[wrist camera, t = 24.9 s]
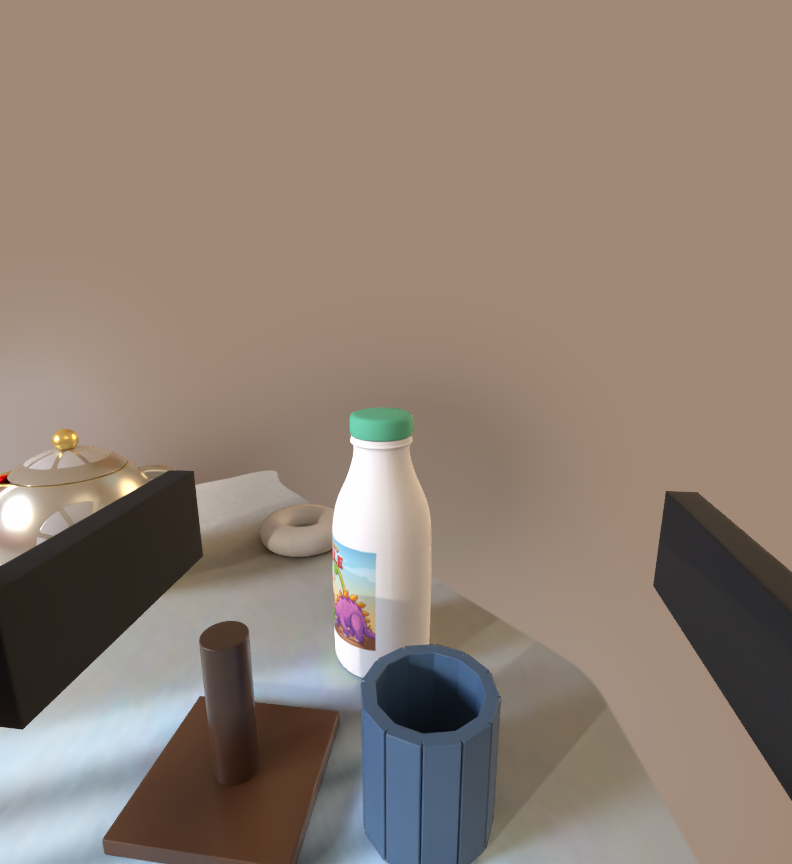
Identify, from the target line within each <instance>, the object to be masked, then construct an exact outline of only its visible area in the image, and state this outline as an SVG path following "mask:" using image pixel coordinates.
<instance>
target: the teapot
mask: <svg viewBox="0 0 792 864" xmlns="http://www.w3.org/2000/svg"><path fill="white" fill-rule="evenodd" d="M52 443H53V445H54V446H55V447H56V448H55V449H52V450H49V451H45V452H42V453H40V454H38V455H36V456H33V457H32V458H30V459H28V460H26V461H25V462H23V463H22V464H20V465H19V466H18V467H17V468H15V469H14V470H13V471H10V472H6V473H3V474H0V563H1V564H2V565H3V564H5V563H7V562H9V561H10V560H12V559H14V558H16V557H17V556H19V555H21V554H23V553H24V552H26V551H28V550H30V549H32V548H33V547H35V546H37V545H39V544H40V543H42V542H44V541H46V540H47V539H49V538H51V537H53V536H54V535H56V534H58V533H60V532H61V531H63V530H65V529H67V528H68V527H70V526H72V525H74V524H76V523H77V522H79V521H81V520H83V519H84V518H86V517H88V516H90V515H91V514H93V513H95V512H97V511H98V510H100V509H102V508H104V507H105V506H107V505H109V504H111V503H112V502H114V501H116V500H118V499H120V498H121V497H123V496H125V495H127V494H128V493H130V492H132V491H134V490H135V489H137V488H139V487H141V486H142V485H144V484H146V483H148V482H149V481H150V480H151V479H155V478H156V477H158V476H160V475H162V474H164V473H165V472H167V471H169V470H175V469H173V468H171V467H168V466H163V465H147V466H142V467H136V466H135V465H134V464H132V463H131V462H130V461H129V460H127V459H126V458H124V457H122V456H120V455H118V454H116V453H114V452H111V451H109V450H106V449H102V448H98V447H92V446H77V444H78V436H77V434H76V433H75V432H74V431H72V430H70V429H61V430H58V431H57V432H55V434H54V435H53V437H52Z"/></svg>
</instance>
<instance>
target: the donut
mask: <svg viewBox="0 0 792 864" xmlns="http://www.w3.org/2000/svg"><path fill="white" fill-rule="evenodd" d="M333 516H334V510H333V509H331V508H329V507H325V506H322V505H314V504H302V505H294V506H289V507H286V508H282V509H280V510H278V511H275V512H273V513H272V514H271V515H269V516H268V517H267V518H266V519H265V520H264V522H263V524H262V526H261V528H260V535H261V539H262V542H263V544H264V545H265V546H266V547H267V548H268V549H269V550H271V551H272V552H274V553H277V554H279V555H282V556H289V557H307V556H313V555H318V554H321V553H324V552H327V551H329V550H331V549H332V525H333Z"/></svg>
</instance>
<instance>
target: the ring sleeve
mask: <svg viewBox="0 0 792 864" xmlns="http://www.w3.org/2000/svg"><path fill="white" fill-rule="evenodd" d="M500 698H501V696H500V694H499V691H498V689H497V686H496V684H495V681H494V679H493V676H492V674H491V673H489V670H488V669H487V668H485V667H484V666H483V665H482V664H480V663H479V662H478V661H476V660H475V659H474V658H473V657H471V656H470V655H469V654H466V655H465V652H462V651H459V650H455V649H452V648H448V647H445V646H441V645H436V646H435V645H434V644H427V645H413V646H405V647H404V648H403V647H401V648H399V649H397V650H395V651H393V652H391V653H388V654H386V655H384V656H382V657H380V658H378V661H377V660H376V661H375V662H374V664H373V665H372V666H371V668H370V669H369V671H368V672H367V673H366V675H365V676H364V678H363V679H362V682H361V729H362V785H363V815H364V829H365V832H366V834H367V836H368V837H369V839H370V840H371V842H372V843H373V845H374V846H375V848H376V849H377V851H378V852H379V854H380V855H381V857H382V858H383V859H384V860H385V859H386V861H387V863H389V864H470V863H471V862H472V861H473V860H474V859H475V858H477V857H478V856H479V855H480V854H481V853H482V852H483V851H484V848H486V845H487V842H488V838H489V834H490V830H491V827H492V823H493V818H494V802H495V786H496V770H497V754H498V738H499V722H500V705H501V699H500Z"/></svg>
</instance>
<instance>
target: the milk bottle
mask: <svg viewBox="0 0 792 864" xmlns="http://www.w3.org/2000/svg"><path fill="white" fill-rule="evenodd" d="M412 432H413V417H412V414H411V413H410V412H408V411H405V410H401V409H396V408H367V409H362V410H358V411H355V412H353V413H352V414H351V416H350V433H351V439H350V442H351V443H352V444H353V446H354V453H353V458H352V462H351V466H350V469H349V472H348V475H347V478H346V480H345V482H344V484H343V486H342V489H341V491H340V493H339V496H338V498H337V502H336V506H335V510H334V516H333V525H332V560H333V601H334V632H335V649H336V654H337V657H338V658H339V660H340V662H341V663H342V665H343V666H344V667H345V668H346V669H347V670H348V671H350V672H351V673H353V674H355V675H357V676H359V677H362V678H364V676H365V675H366V673H367V672H368V671H369V669H370V668H371V666H372V665H373V664H374V662H375V661H376V660H377V661H378V658H380V657H382V656H384V655H386V654H388V653H391V652H393V651H395V650H397V649H399V648H401V647H403V648H404V647H405V646H413V645H427V644H429V641H430V605H431V520H430V512H429V508H428V503H427V500H426V497H425V494H424V492H423V490H422V488H421V485H420V483H419V481H418V479H417V477H416V474H415V471H414V468H413V466H412V462H411V457H410V452H409V445H410V444H411V443H412V441H413V439H412Z"/></svg>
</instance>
